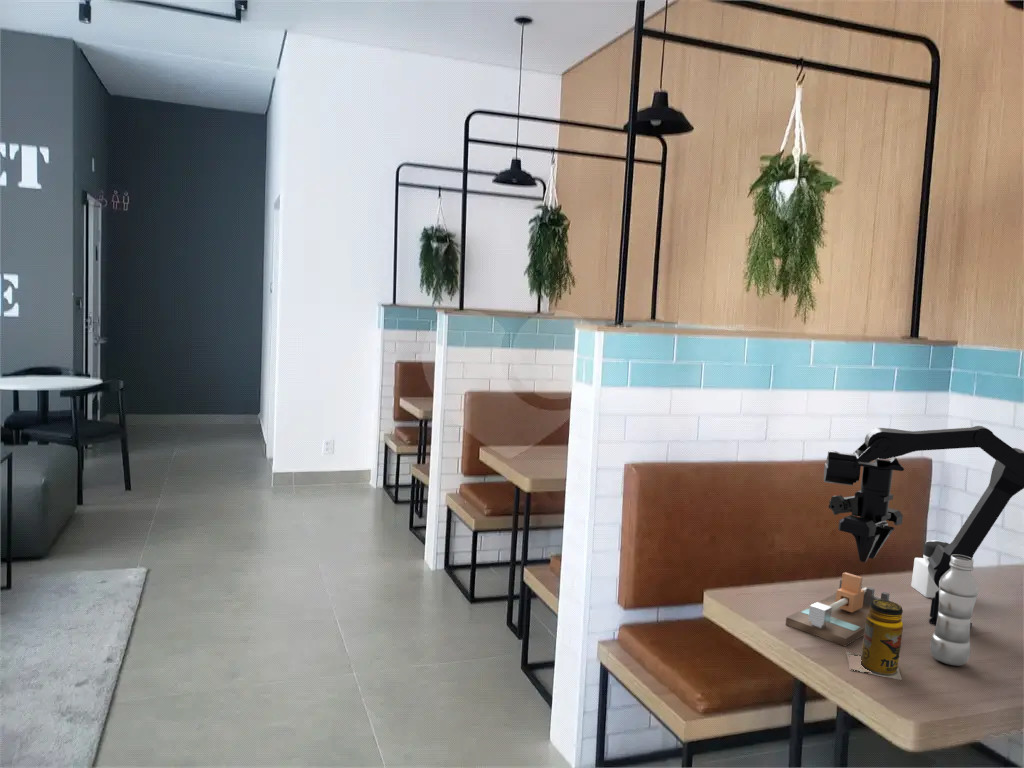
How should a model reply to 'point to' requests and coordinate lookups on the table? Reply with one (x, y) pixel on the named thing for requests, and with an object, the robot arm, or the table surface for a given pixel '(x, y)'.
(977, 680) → the table surface
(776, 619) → the table surface
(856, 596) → the orange stepped block
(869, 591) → the cable comb
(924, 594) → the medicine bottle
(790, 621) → the cord board
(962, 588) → the plastic bottle
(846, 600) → the cord
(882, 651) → the condiment
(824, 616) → the block
